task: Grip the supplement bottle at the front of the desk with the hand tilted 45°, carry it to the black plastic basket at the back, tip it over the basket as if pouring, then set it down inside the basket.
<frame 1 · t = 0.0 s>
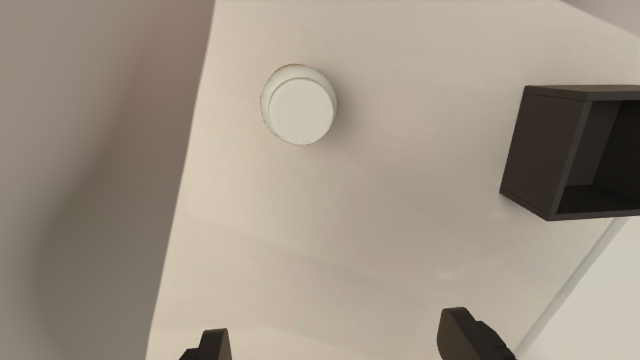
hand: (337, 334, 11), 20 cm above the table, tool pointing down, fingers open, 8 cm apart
basket: (560, 141, 32), on the table
supplement bottle: (295, 95, 27), on the table
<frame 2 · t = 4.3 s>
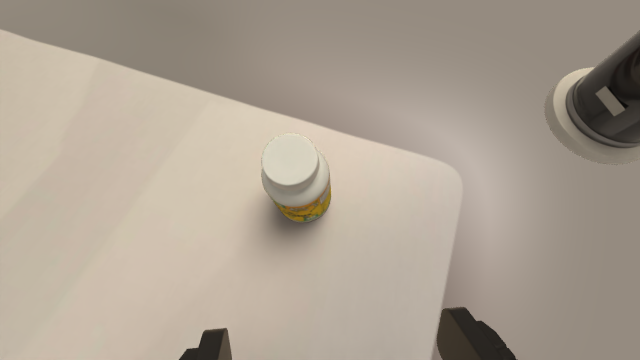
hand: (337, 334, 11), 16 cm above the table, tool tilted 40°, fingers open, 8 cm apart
supplement bottle: (304, 197, 30), on the table
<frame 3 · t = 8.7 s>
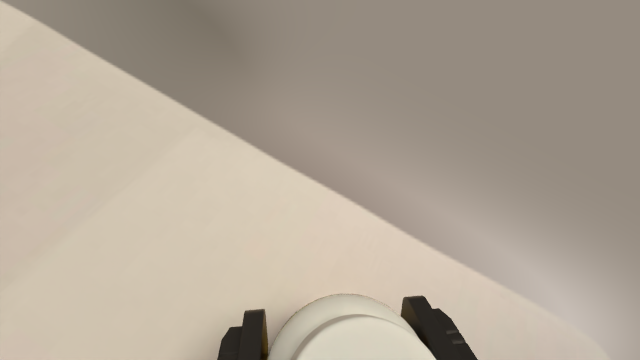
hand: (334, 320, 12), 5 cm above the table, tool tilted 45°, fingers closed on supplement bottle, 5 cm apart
supplement bottle: (327, 355, 15), on the table, touching gripper
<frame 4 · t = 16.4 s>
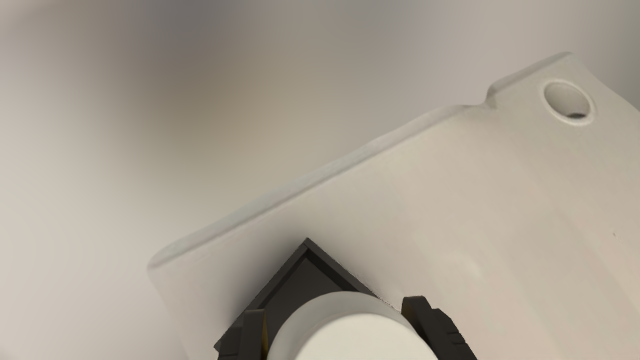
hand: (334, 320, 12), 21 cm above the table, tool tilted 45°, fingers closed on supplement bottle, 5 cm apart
basket: (311, 329, 30), on the table
supplement bottle: (326, 353, 15), point 16 cm above the table, touching gripper
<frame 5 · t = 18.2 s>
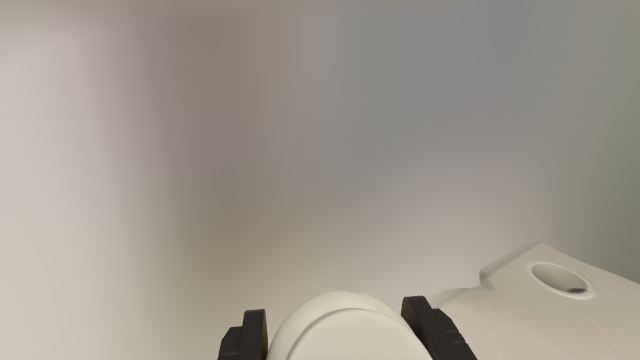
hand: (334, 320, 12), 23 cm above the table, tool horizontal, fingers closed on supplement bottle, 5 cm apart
supplement bottle: (327, 351, 16), point 18 cm above the table, touching gripper
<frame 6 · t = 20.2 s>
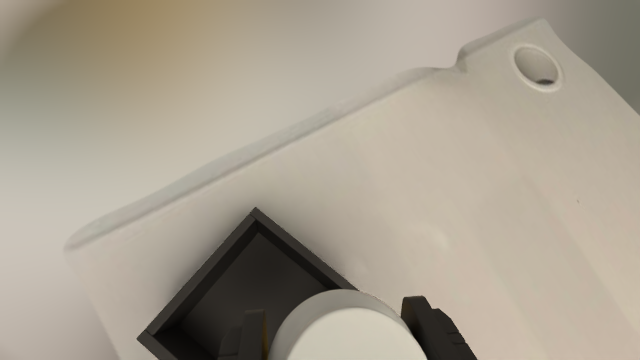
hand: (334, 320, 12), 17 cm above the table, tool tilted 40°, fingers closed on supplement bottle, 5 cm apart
basket: (264, 311, 27), on the table
supplement bottle: (328, 350, 16), point 11 cm above the table, touching gripper
when the fingers open (6 cm above the table, at t = 24.3 s): supplement bottle stays where it is, resting on basket.
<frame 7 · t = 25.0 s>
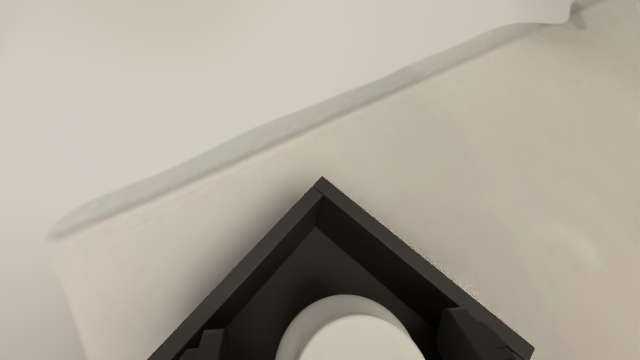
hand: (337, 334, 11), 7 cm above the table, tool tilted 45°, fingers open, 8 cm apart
basket: (324, 348, 17), on the table
supplement bottle: (328, 349, 17), resting on basket
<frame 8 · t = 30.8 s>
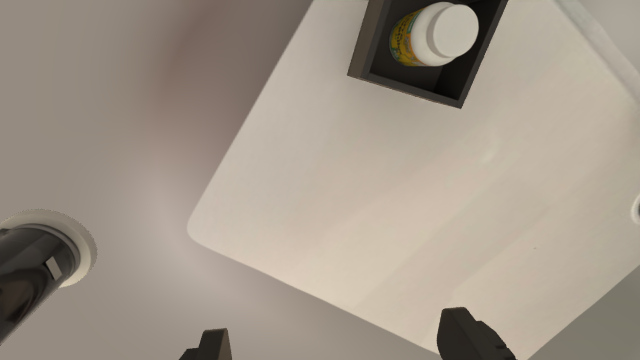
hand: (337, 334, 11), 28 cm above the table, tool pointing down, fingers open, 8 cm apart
basket: (408, 38, 34), on the table
supplement bottle: (409, 40, 34), resting on basket
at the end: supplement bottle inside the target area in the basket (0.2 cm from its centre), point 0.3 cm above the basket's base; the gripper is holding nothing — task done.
